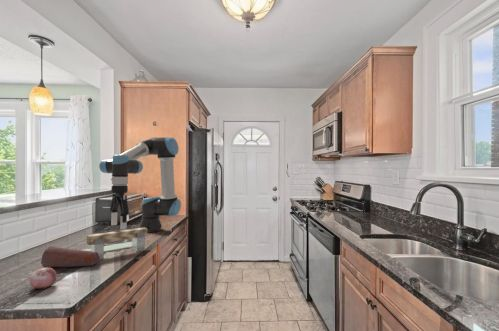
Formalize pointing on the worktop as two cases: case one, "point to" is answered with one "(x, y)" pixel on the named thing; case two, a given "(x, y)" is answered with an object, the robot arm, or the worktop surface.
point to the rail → (116, 235)
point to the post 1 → (98, 247)
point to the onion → (43, 278)
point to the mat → (115, 247)
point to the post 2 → (139, 242)
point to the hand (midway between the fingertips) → (118, 227)
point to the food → (68, 257)
